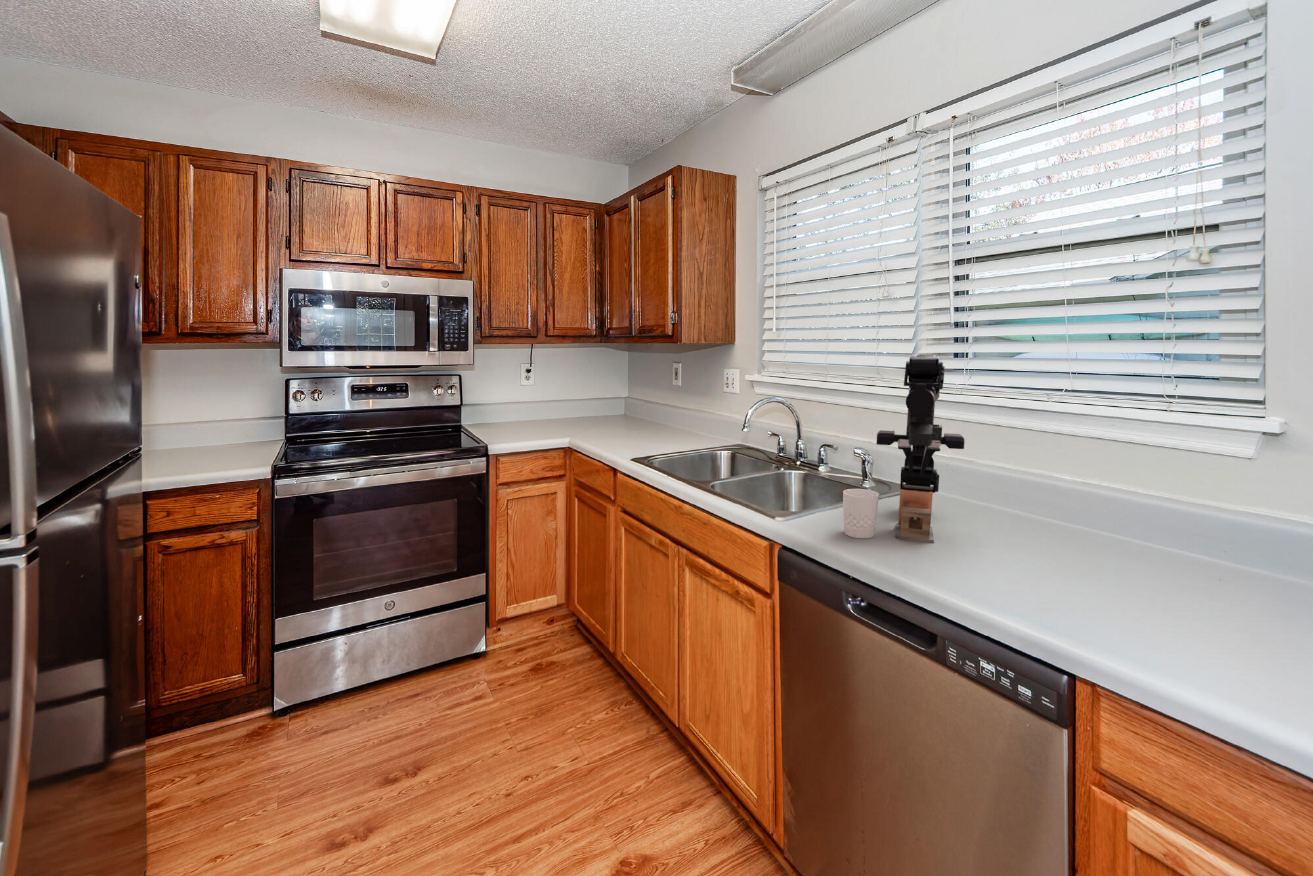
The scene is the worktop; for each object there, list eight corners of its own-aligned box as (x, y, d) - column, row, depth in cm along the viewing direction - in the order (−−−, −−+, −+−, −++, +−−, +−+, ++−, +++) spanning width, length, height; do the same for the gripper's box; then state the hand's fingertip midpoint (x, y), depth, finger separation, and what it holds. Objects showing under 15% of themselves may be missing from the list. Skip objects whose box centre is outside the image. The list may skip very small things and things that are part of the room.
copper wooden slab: (898, 524, 140) (900, 489, 139) (930, 527, 137) (932, 491, 136) (898, 530, 136) (900, 494, 134) (931, 533, 133) (933, 497, 132)
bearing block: (895, 525, 142) (897, 499, 141) (931, 529, 139) (933, 502, 138) (895, 538, 133) (897, 510, 132) (934, 542, 130) (936, 514, 129)
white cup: (870, 541, 131) (873, 498, 129) (836, 535, 135) (838, 493, 134) (881, 532, 137) (883, 491, 135) (847, 526, 141) (849, 487, 140)
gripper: (877, 412, 132) (873, 479, 135) (969, 415, 125) (964, 485, 128) (878, 407, 143) (875, 469, 145) (964, 410, 136) (959, 475, 138)
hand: (916, 475), depth 139 cm, fingers closed
